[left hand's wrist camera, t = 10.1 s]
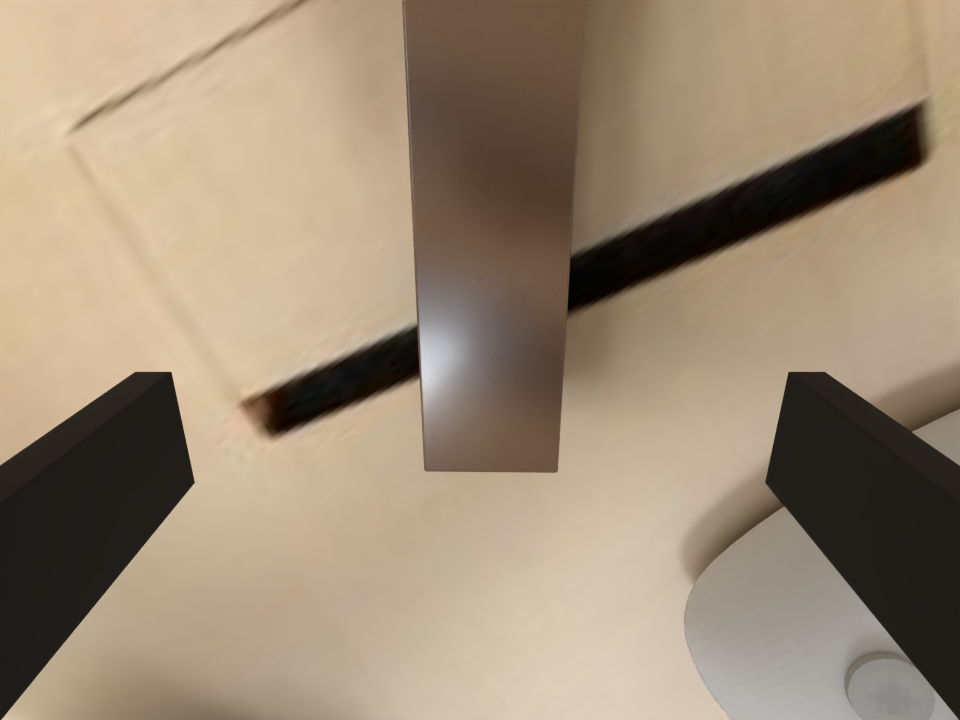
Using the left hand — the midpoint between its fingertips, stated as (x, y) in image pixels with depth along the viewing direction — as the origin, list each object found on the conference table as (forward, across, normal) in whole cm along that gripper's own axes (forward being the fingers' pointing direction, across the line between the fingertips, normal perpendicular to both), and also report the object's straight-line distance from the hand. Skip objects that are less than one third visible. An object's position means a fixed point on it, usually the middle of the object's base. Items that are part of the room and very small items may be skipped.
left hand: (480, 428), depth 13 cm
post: (+13, 0, -26) cm, 29 cm away
